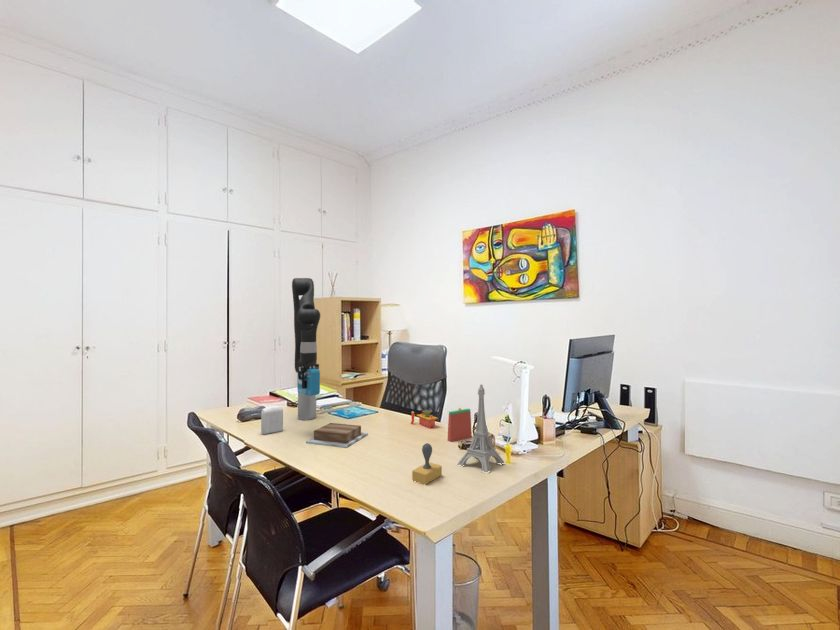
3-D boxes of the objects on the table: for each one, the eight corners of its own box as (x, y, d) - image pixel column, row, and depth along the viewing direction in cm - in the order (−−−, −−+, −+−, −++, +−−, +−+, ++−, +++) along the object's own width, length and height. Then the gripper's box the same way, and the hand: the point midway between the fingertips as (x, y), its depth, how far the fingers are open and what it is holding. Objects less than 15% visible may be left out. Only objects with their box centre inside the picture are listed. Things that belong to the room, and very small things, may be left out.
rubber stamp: (428, 472, 148) (428, 438, 148) (442, 475, 145) (442, 441, 145) (411, 481, 140) (411, 445, 140) (425, 485, 137) (425, 449, 137)
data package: (297, 393, 197) (297, 367, 197) (305, 391, 201) (305, 366, 201) (311, 396, 189) (311, 369, 189) (320, 395, 193) (320, 369, 193)
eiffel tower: (505, 464, 156) (505, 384, 156) (487, 474, 146) (487, 389, 146) (475, 456, 165) (475, 380, 165) (456, 465, 155) (456, 385, 155)
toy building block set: (450, 442, 183) (450, 410, 183) (407, 424, 212) (407, 396, 212) (471, 437, 190) (471, 406, 190) (428, 421, 219) (428, 394, 219)
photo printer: (280, 429, 203) (280, 403, 203) (284, 430, 200) (284, 405, 200) (259, 433, 196) (259, 407, 196) (263, 435, 193) (263, 408, 193)
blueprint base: (330, 430, 200) (330, 420, 200) (367, 434, 193) (367, 424, 193) (305, 443, 181) (305, 432, 181) (346, 448, 175) (346, 436, 175)
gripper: (310, 350, 203) (310, 384, 203) (292, 352, 190) (292, 389, 189) (324, 350, 200) (324, 385, 200) (306, 353, 187) (306, 390, 187)
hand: (308, 387), depth 195 cm, fingers closed on data package, 5 cm apart
